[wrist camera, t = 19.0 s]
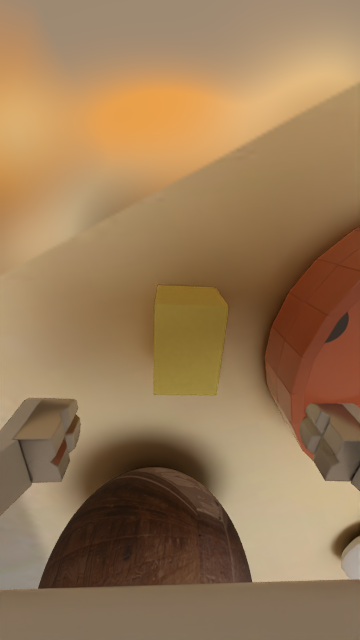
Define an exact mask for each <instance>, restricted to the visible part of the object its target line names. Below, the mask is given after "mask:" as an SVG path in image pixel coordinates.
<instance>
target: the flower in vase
mask: <svg viewBox="0 0 360 640" xmlns="http://www.w3.org/2000/svg"><path fill="white" fill-rule="evenodd" d="M341 566H342V569H343V571H344V572H345V574H346V575H347V576H348V577H349V578H350V579H360V536H358V537H356V538H355V539H354V540H353V541H352V542H351V543H350V544H349V545H348V546H347V547H346V548H345V550H344V551H343V553H342V556H341Z"/></svg>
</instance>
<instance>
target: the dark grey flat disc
mask: <svg viewBox="0 0 360 640" xmlns="http://www.w3.org/2000/svg"><path fill="white" fill-rule="evenodd" d="M348 322H349V315H348V312H347V313H346V314H345V315H344V316H343V317H342V318H341V319H340V320H339V321H338V322H337V324H336V326H335V327H334V329H333V330H332V332H331V334H330V335H329V337H328V338H327V340H326V342H325V343H328V342H331V341H333V340H335V339H337V338H338V337H339V336H340V335H342V333H343V332H344V331H345V329H346V328H347V325H348Z"/></svg>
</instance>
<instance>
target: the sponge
mask: <svg viewBox="0 0 360 640" xmlns="http://www.w3.org/2000/svg"><path fill="white" fill-rule="evenodd" d="M228 310H229V306H228V305H227V303H226V302H225V300H224V299H223V297H222V296H221V295H220V293H219V292H218V290H217V289H216V287H200V286H174V285H158V286H157V292H156V298H155V304H154V394H155V395H217V389H218V382H219V375H220V367H221V360H222V353H223V346H224V339H225V331H226V324H227V317H228Z"/></svg>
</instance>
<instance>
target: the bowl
mask: <svg viewBox="0 0 360 640" xmlns="http://www.w3.org/2000/svg"><path fill="white" fill-rule="evenodd" d="M347 312H348V315H349V322H348V325H347V328H346V329H345V331H344V332H343V333H342V335H340V336H339V337H338V338H337V339H335V340H333V341H331V342H328V343H325V342H326V340H327V338H328V337H329V335H330V334H331V332H332V330H333V329H334V327H335V326H336V324H337V322H338V321H339V320H340V319H341V318H342V317H343V316H344V315H345V314H346V313H347ZM265 367H266V379H267V386H268V388H269V390H270V392H271V394H272V397H273V399H274V401H275V403H276V405H277V407H278V409H279V411H280V412H281V414H282V416H283V418H284V419H285V421H286V423H287V424H288V426H289V428H290V430H291V431H292V433H293V435H294V437H295V438H296V440H297V442H298V443H299V445H300V447H301V449H302V450H303V451H304V452H305V453H306V454H307V455H308V456H309V457H310V458H311V459H312V460H313V461H314V454H313V453H311V452H310V451H309V450H307V449H306V447H305V445H304V444H303V442H302V439H301V436H300V425H301V422H302V420H303V419H304V418H306V417H307V414H306V412H305V410H306V408H307V406H308V405H309V404H310V403H353V404H355V405H357V406H358V407H359V408H360V227H358V228H356V229H354V230H353V231H351V232H350V233H349V234H348V235H346V236H345V237H344V238H343V239H341V240H340V241H339V242H337V243H336V244H335V245H334V246H332V247H331V248H330V249H329V250H327V251H326V252H325V253H324V254H322V255H321V256H320V257H318V258H317V259H316V260H315V261H314V262H313V264H312V265H311V266H310V267H309V268H308V269H307V271H306V272H305V273H304V274H303V275H302V277H301V278H300V279H299V280H298V281H297V283H296V284H295V285H294V286H293V287H292V289H291V290H290V291H289V293H288V295H287V297H286V299H285V301H284V303H283V305H282V306H281V308H280V310H279V312H278V314H277V316H276V318H275V320H274V322H273V324H272V327H271V331H270V336H269V340H268V345H267V349H266V354H265Z"/></svg>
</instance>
